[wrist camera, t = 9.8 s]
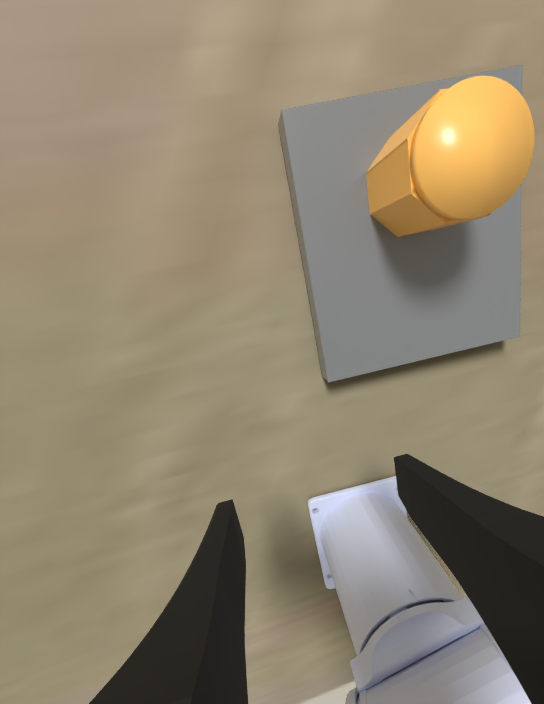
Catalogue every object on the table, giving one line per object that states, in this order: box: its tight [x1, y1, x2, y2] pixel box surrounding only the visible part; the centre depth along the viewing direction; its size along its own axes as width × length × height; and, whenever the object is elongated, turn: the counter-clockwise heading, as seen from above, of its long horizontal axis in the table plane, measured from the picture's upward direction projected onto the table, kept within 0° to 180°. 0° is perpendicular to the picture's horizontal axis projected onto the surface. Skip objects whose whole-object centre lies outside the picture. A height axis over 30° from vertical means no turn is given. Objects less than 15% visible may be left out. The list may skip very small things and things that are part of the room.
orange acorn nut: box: [366, 76, 534, 237], centre depth 15 cm, size 5×5×5 cm
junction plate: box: [278, 65, 523, 382], centre depth 18 cm, size 16×14×4 cm
